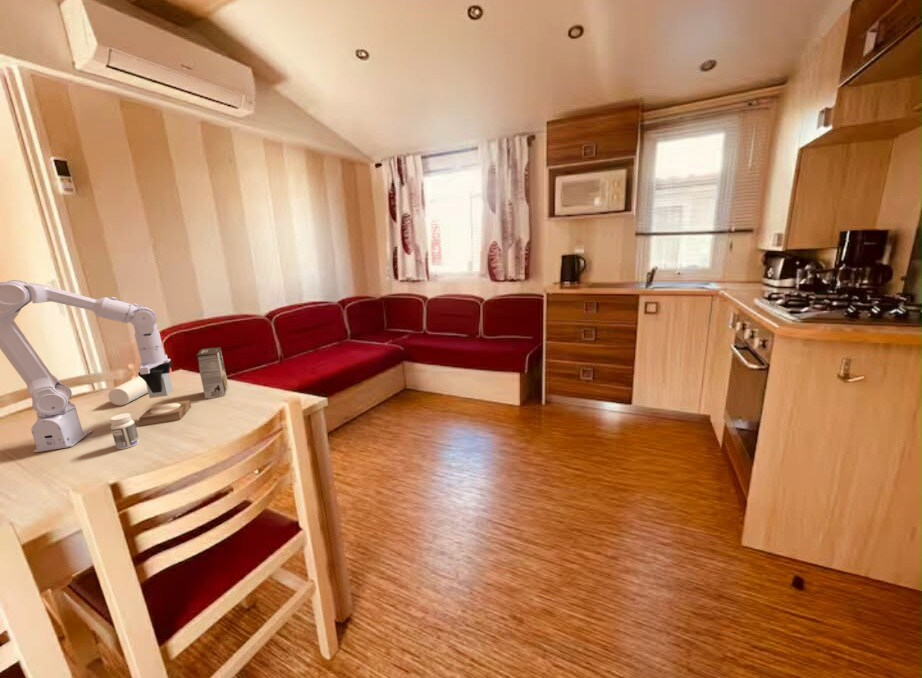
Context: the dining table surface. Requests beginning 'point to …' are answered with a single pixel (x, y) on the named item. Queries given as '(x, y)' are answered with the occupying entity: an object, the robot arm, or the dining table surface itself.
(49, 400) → the robot arm
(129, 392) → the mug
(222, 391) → the coffee box
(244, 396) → the dining table surface
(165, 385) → the block
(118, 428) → the pill bottle
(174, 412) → the plinth
